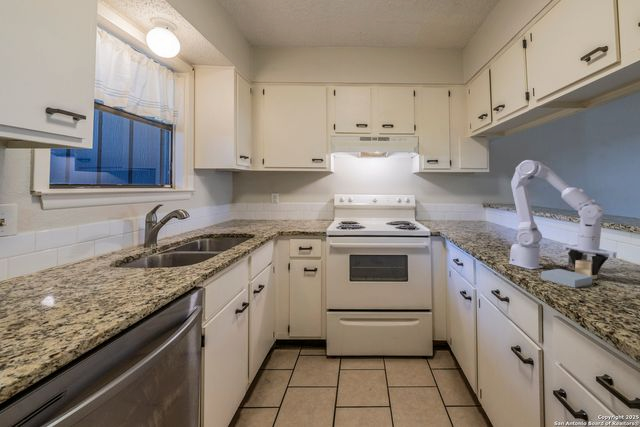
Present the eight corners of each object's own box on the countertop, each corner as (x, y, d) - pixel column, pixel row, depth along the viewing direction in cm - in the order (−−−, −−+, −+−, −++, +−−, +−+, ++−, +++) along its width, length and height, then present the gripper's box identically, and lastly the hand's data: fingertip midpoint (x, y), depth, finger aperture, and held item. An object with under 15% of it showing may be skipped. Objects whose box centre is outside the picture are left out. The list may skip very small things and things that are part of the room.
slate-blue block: (540, 279, 99) (541, 271, 99) (557, 276, 103) (558, 268, 102) (574, 289, 90) (575, 280, 89) (591, 285, 93) (592, 276, 93)
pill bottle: (587, 269, 109) (589, 246, 108) (583, 272, 106) (585, 247, 105) (570, 266, 114) (571, 243, 113) (565, 268, 111) (567, 245, 110)
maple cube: (574, 276, 102) (575, 260, 101) (581, 274, 103) (582, 259, 103) (589, 279, 97) (591, 263, 97) (596, 278, 99) (598, 262, 98)
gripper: (622, 239, 94) (618, 277, 95) (571, 232, 107) (568, 266, 108) (611, 240, 91) (607, 279, 92) (560, 233, 105) (557, 268, 106)
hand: (585, 272), depth 100 cm, fingers closed on maple cube, 4 cm apart
